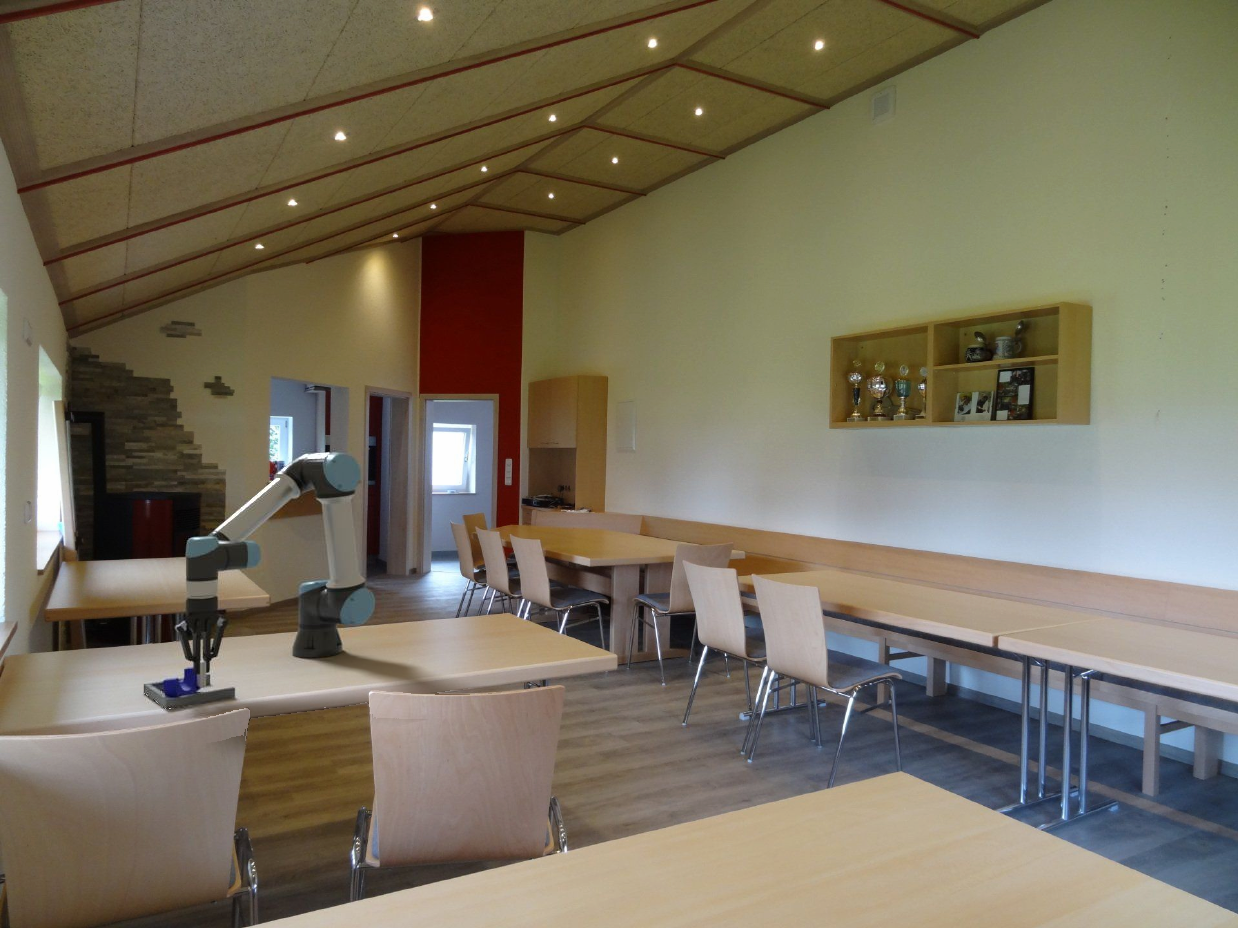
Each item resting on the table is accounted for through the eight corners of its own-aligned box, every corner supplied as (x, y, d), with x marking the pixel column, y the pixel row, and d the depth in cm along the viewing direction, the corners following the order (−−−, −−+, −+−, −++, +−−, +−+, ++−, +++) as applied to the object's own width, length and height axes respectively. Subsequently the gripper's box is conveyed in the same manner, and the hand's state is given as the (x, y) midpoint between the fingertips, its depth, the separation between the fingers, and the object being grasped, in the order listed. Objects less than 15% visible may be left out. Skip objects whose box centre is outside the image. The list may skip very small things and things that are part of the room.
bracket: (208, 682, 225) (208, 673, 225) (234, 697, 211) (235, 687, 211) (143, 693, 214) (143, 684, 214) (166, 709, 200) (167, 699, 200)
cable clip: (183, 690, 217) (181, 668, 217) (200, 688, 217) (198, 666, 217) (159, 704, 205) (157, 681, 205) (177, 702, 205) (175, 679, 205)
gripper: (222, 591, 222) (222, 678, 222) (170, 597, 213) (170, 687, 213) (232, 595, 216) (232, 684, 216) (180, 600, 207) (179, 693, 207)
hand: (201, 685), depth 214 cm, fingers closed
